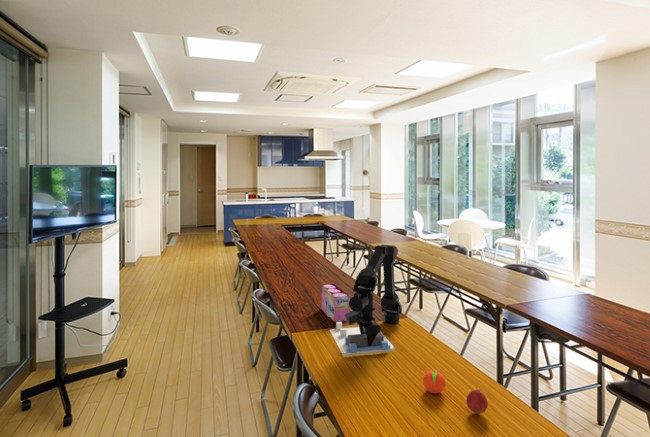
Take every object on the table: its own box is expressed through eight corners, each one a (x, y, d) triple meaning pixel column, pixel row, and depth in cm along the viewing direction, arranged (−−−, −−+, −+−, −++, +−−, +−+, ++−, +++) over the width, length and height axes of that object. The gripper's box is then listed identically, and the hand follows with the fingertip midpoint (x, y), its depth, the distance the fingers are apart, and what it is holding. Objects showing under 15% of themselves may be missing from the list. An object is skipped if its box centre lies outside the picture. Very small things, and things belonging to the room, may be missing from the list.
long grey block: (380, 342, 160) (380, 332, 159) (383, 346, 156) (383, 336, 155) (347, 345, 157) (347, 335, 156) (350, 350, 153) (350, 339, 153)
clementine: (445, 401, 120) (446, 379, 119) (422, 397, 122) (423, 376, 121) (444, 387, 128) (445, 367, 127) (423, 384, 129) (423, 364, 129)
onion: (463, 414, 113) (464, 389, 112) (469, 405, 117) (470, 381, 117) (483, 422, 109) (485, 396, 108) (489, 412, 114) (490, 387, 113)
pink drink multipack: (320, 308, 206) (320, 283, 204) (334, 306, 208) (334, 282, 207) (334, 324, 183) (334, 296, 182) (349, 322, 185) (350, 295, 184)
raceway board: (375, 327, 179) (375, 319, 178) (395, 351, 154) (395, 341, 154) (329, 331, 174) (329, 322, 174) (342, 356, 150) (342, 346, 149)
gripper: (341, 298, 162) (341, 333, 164) (353, 313, 144) (353, 353, 145) (366, 296, 164) (366, 331, 166) (381, 311, 146) (380, 350, 148)
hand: (365, 341), depth 156 cm, fingers open, 9 cm apart
